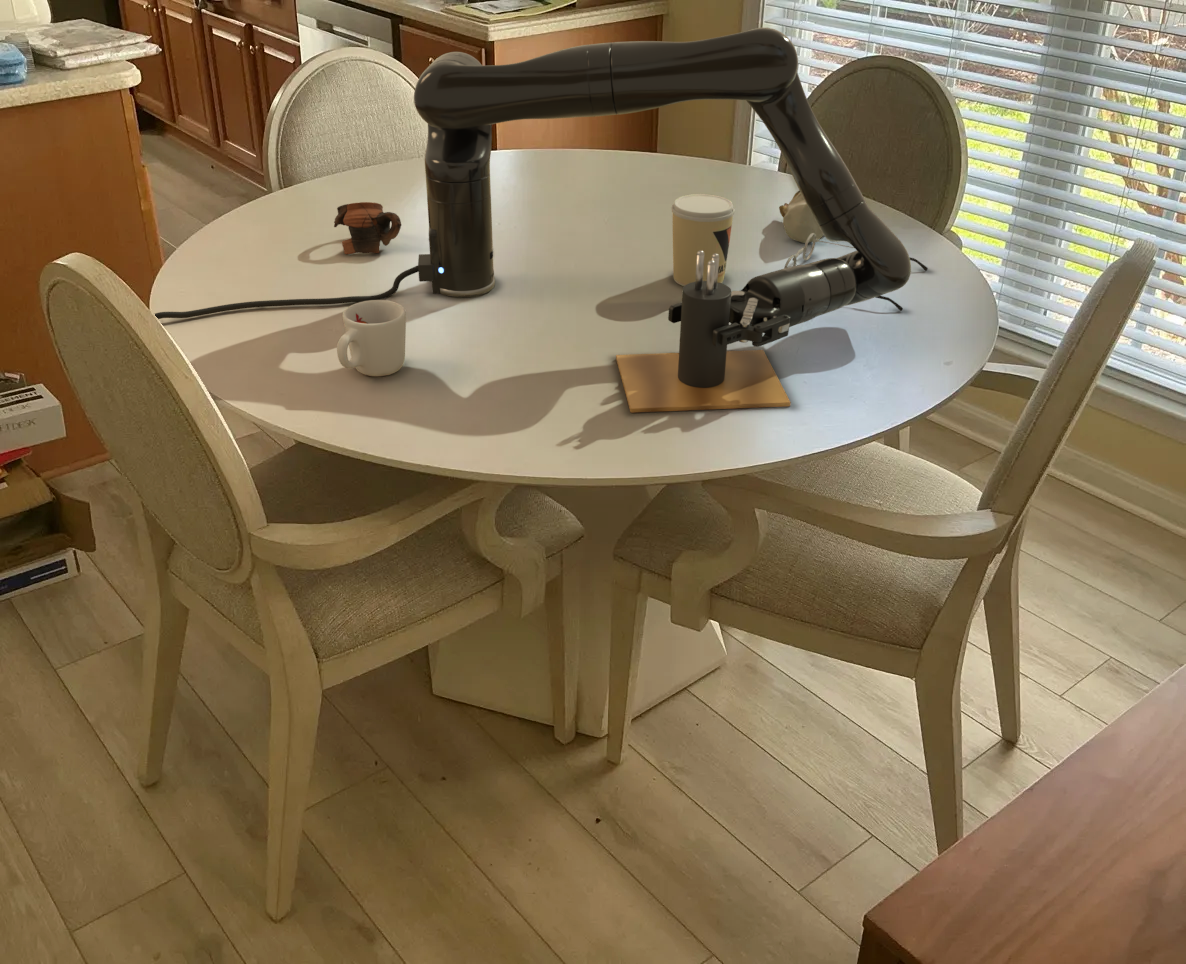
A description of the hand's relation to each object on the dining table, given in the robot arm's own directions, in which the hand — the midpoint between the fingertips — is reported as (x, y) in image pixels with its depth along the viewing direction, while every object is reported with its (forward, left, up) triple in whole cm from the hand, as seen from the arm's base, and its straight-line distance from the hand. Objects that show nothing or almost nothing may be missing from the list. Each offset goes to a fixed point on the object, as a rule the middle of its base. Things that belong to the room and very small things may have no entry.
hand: (691, 326), depth 144 cm
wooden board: (+2, +1, -8) cm, 8 cm away
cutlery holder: (+2, +1, -8) cm, 8 cm away
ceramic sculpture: (+30, +54, -8) cm, 62 cm away
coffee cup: (+8, +35, -8) cm, 37 cm away
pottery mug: (-43, +53, -8) cm, 69 cm away
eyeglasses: (+32, +33, -8) cm, 46 cm away
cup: (-40, +7, -8) cm, 42 cm away
